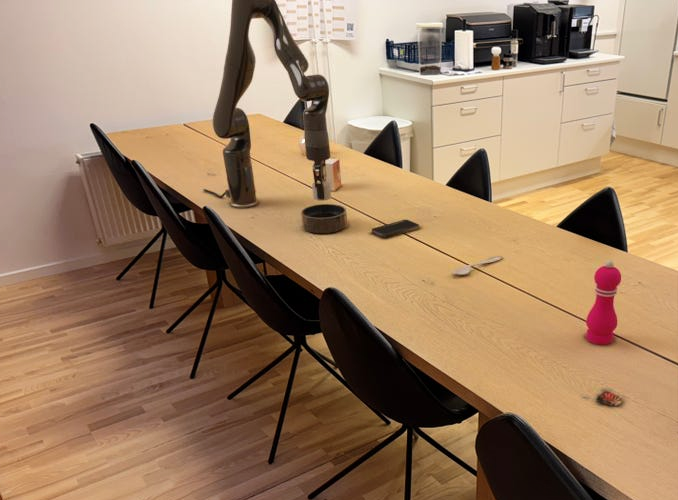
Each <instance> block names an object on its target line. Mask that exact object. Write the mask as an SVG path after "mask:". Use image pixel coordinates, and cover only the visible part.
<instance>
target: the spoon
mask: <svg viewBox="0 0 678 500" xmlns="http://www.w3.org/2000/svg"><path fill="white" fill-rule="evenodd" d="M500 260H502V256H501V257H500V256H494V257H492V258H489V259H486V260H484V261H480V262H476V263H473V264H468V265H465V266H462V267H459V268H456V269H454V270H452V271H451V273H452V274H454V275H458V276H465V275H468V274H469V273H471V268H472V267H474V266H478V265H484V264H490V263H494V262H495V263H496V262H498V261H500Z"/></svg>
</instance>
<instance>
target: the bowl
mask: <svg viewBox="0 0 678 500" xmlns="http://www.w3.org/2000/svg"><path fill="white" fill-rule="evenodd" d="M300 216H301V226H302V227H301V228H302V229H304V230H305V231H307V232H309V233H312V234H321V235H323V234H325V235H326V234H333V233H336V232H339V231H342V230H344V229H345V228H347V226H348V215H347V208H345V206H343V205H339V204H334V203H320V204H314V205H309V206H307V207H304V208H303V209H302V210H300Z"/></svg>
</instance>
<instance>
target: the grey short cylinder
mask: <svg viewBox="0 0 678 500" xmlns="http://www.w3.org/2000/svg"><path fill="white" fill-rule="evenodd" d="M317 182H318V184H320V183H321V182H320V181H317ZM311 189H312V196H313V197H312V198H313V200H315V201H318V202H323V201H329V200H331V199H332V191H331V188H330V183H329V182H324V195H325V198H324V199H318V197H317V188H315V182H313V183H312V184H311Z"/></svg>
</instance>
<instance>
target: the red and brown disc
mask: <svg viewBox="0 0 678 500" xmlns="http://www.w3.org/2000/svg"><path fill="white" fill-rule="evenodd" d="M621 398H622V396H621V395H619V394H617V393H614V391H610V390H607V389H604V390H603V391H602V392H601V393H600V394H599V395H597V398H596V401H598V402H599V403H601V404H602V403H603V404H604V405H608V406H616V407H617V406H619V405H621V402H622V400H620V399H621Z"/></svg>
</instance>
